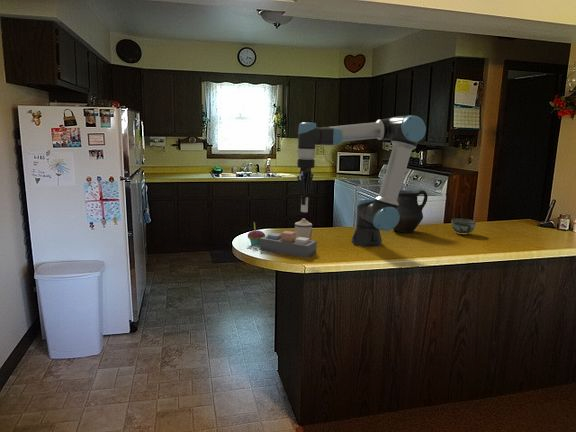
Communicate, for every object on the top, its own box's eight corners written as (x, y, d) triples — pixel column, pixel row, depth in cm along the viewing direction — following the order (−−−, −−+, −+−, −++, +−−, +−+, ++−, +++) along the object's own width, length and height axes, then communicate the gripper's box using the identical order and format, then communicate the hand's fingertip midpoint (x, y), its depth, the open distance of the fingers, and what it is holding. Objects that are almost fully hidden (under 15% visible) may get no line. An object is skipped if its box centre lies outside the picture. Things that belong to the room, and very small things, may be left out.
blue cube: (281, 244, 206) (282, 234, 205) (276, 246, 202) (277, 236, 201) (272, 243, 208) (272, 232, 207) (267, 245, 204) (267, 234, 203)
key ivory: (309, 248, 200) (309, 238, 199) (304, 251, 196) (305, 240, 195) (299, 247, 202) (299, 236, 201) (294, 249, 198) (295, 239, 197)
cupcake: (258, 248, 206) (258, 223, 204) (243, 245, 210) (244, 220, 208) (268, 244, 213) (269, 220, 211) (254, 241, 218) (254, 218, 215)
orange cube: (295, 242, 203) (295, 232, 202) (290, 244, 198) (291, 234, 197) (285, 241, 205) (286, 230, 204) (280, 243, 200) (281, 232, 200)
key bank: (316, 252, 202) (316, 241, 201) (307, 258, 193) (308, 245, 192) (270, 245, 212) (270, 234, 211) (259, 249, 203) (260, 238, 202)
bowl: (453, 230, 264) (455, 217, 262) (477, 234, 256) (478, 220, 255) (447, 234, 253) (448, 220, 251) (471, 237, 245) (473, 223, 244)
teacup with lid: (313, 243, 219) (314, 220, 217) (295, 243, 217) (296, 220, 215) (308, 237, 231) (309, 215, 229) (291, 237, 229) (292, 215, 227)
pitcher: (384, 226, 267) (387, 185, 262) (421, 228, 264) (425, 187, 260) (387, 233, 247) (390, 189, 242) (426, 236, 244) (431, 192, 240)
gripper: (304, 157, 199) (302, 208, 203) (292, 158, 187) (290, 213, 192) (319, 158, 196) (317, 210, 200) (308, 159, 184) (306, 214, 189)
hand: (304, 211), depth 196 cm, fingers closed
